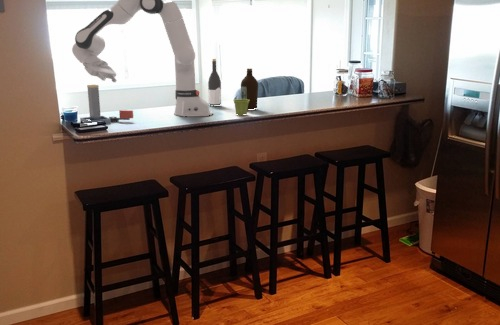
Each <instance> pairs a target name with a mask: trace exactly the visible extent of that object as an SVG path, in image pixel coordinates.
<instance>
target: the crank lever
mask: <svg viewBox="0 0 500 325" xmlns="http://www.w3.org/2000/svg"><path fill="white" fill-rule="evenodd" d="M118 115H119V117H117V116H109V117H108V118H110V119H111V120H119V121H120V120H121V121H129V120H130V119H134V110H133V109H131V110H127V109H123V110H119V114H118Z"/></svg>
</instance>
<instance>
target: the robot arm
mask: <svg viewBox="0 0 500 325" xmlns="http://www.w3.org/2000/svg"><path fill="white" fill-rule="evenodd" d="M140 10H142V11H143V12H145V13H146V14H150V15H155V14H158V15H159V16H160V17H161V20H162V22H163V25H164V29H165V32H166V34H167V38H168V40H169V44H170V45H171V49H172V52H173V56H174V68H175V93H174V94H175V95H174V96H175V97H174V98H175V107H174V113H173V114H174V115H175V116H179V117H184V118H185V116H187V117H210V116H213V115H214V112H213V111H212V110H210V106H209V102H207V101H206V100H204V99H203V98H202V97H201V96H200V91H199V90H198V89H196V72H195V59H196V52H195V49H194V47H193V44H192V41H191V38H190V35H189V32H188V30H187V27H186V23H185V20H184V18H183V15H182V12H181V10H180V8H179V6H178V4H177V3H176V2H175V1H174V0H117V1H116V2H115V4H113V5H112V6H111V7H109V8H107V9H106V10H103V12H101V13H100V14H99V15H98V16H96V17H95V18H94V19H93V20H92V21H91V22H90V23H89V24H88V25H86V26H85V27H83V28H81V29H80V30H78V31H77V32H76V34H75V37H74V41H75V43H74V44H73V46H72V49H71V51H72V54H73V56H74V58H76V59H77V60H78V61H79V63H81V64H82V65H83V66H84V70H85V71H86V72H87V73H88V74H89V75H90V76H91V77H93V76H94V77H97V78H99V79H100V80H101V81H102V82H103V81H106V79H111V82H112V83H116V82H117V79H116V76H117V73H116V71H115V70H113V68H112V67H110V66H109V64H108V62H107V61H104V60H102V59H101V58H99V57H98V56H99V55H100V54H101V53H103V51H104V50H105V47H106V42H105V40H104V38H103V37H101V36H100V35H97V34H98V33H99V32H100V31H102V30H103V29H104V28H105V27H107V26H109V25H125V24H127V23H128V22H129V21H131V19H132V18H133V17H135V15H136V14H137V13H138V12H139V11H140ZM212 114H213V115H212ZM209 115H210V116H209Z"/></svg>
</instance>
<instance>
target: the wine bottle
mask: <svg viewBox="0 0 500 325" xmlns="http://www.w3.org/2000/svg"><path fill="white" fill-rule="evenodd" d="M211 62H212V63H211V64H212V65H211V66H212V71H211V73H210V76H209V78H208V83H207V86H208V105H209V104H210V105H220V104H221V105H222V82H221V77H220V75H219V74H218V71H217V58H212V61H211Z"/></svg>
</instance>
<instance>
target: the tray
mask: <svg viewBox="0 0 500 325" xmlns="http://www.w3.org/2000/svg"><path fill="white" fill-rule="evenodd" d="M86 119H90V116H88V117H80V120H81V121H84V122H86V123H92V122H98V121H105V122H106V124H105V125H108V124H110V125H111V124H112V123H111V119H110V118H109V117H106V116H104V115H101V120H91V121H88V120H86ZM81 121H80V122H81Z"/></svg>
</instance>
